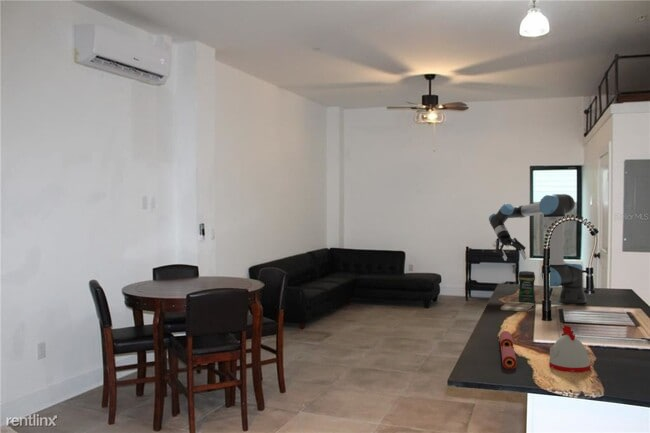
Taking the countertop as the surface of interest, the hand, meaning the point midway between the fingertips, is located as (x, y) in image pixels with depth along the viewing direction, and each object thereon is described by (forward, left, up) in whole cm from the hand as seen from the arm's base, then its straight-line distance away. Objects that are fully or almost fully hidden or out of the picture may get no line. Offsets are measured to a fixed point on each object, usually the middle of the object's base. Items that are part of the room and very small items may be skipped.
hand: (515, 259), depth 352 cm
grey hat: (-50, +139, -25) cm, 150 cm away
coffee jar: (-8, +8, -25) cm, 28 cm away
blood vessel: (-26, +131, -26) cm, 136 cm away
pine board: (-7, +29, -25) cm, 39 cm away
